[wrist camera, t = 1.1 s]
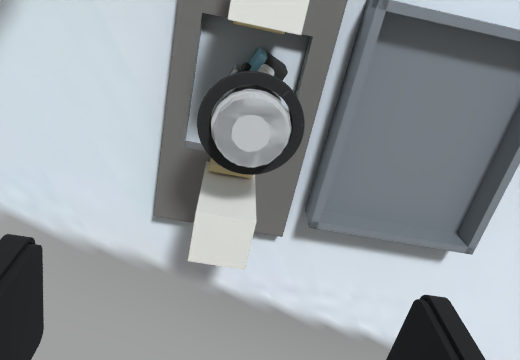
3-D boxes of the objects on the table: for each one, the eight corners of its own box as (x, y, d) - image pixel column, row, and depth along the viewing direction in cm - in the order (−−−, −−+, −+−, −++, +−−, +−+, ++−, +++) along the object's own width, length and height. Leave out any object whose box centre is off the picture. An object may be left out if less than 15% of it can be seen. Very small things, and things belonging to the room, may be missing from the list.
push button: (249, 147, 32) (249, 219, 23) (186, 107, 30) (160, 168, 21) (305, 72, 29) (329, 119, 20) (239, 24, 28) (235, 53, 19)
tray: (555, 38, 29) (581, 44, 26) (458, 236, 36) (472, 254, 33) (368, -6, 27) (379, -3, 25) (305, 210, 34) (309, 227, 32)
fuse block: (360, -65, 26) (405, -75, 18) (281, 228, 35) (289, 298, 28) (193, -106, 25) (170, -135, 17) (156, 207, 34) (130, 276, 26)
